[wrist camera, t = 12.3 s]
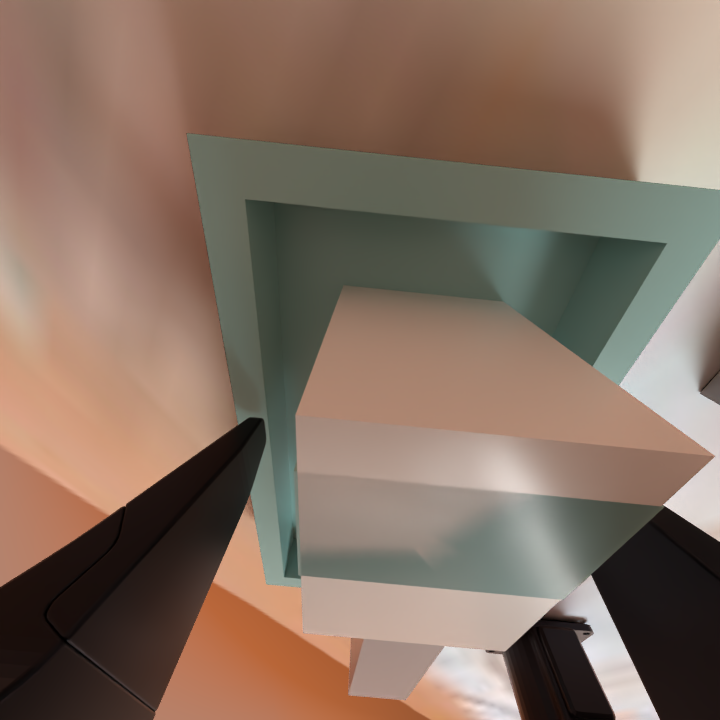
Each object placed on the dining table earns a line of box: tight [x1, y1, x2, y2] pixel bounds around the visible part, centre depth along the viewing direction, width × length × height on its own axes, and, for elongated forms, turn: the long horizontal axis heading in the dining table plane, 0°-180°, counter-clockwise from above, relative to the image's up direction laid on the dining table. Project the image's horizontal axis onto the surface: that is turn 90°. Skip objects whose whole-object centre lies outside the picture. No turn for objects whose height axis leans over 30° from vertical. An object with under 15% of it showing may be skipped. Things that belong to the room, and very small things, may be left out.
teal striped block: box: [294, 285, 715, 700], centre depth 9 cm, size 12×5×6 cm, turn 175°
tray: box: [187, 133, 720, 587], centre depth 11 cm, size 19×11×2 cm, turn 175°
